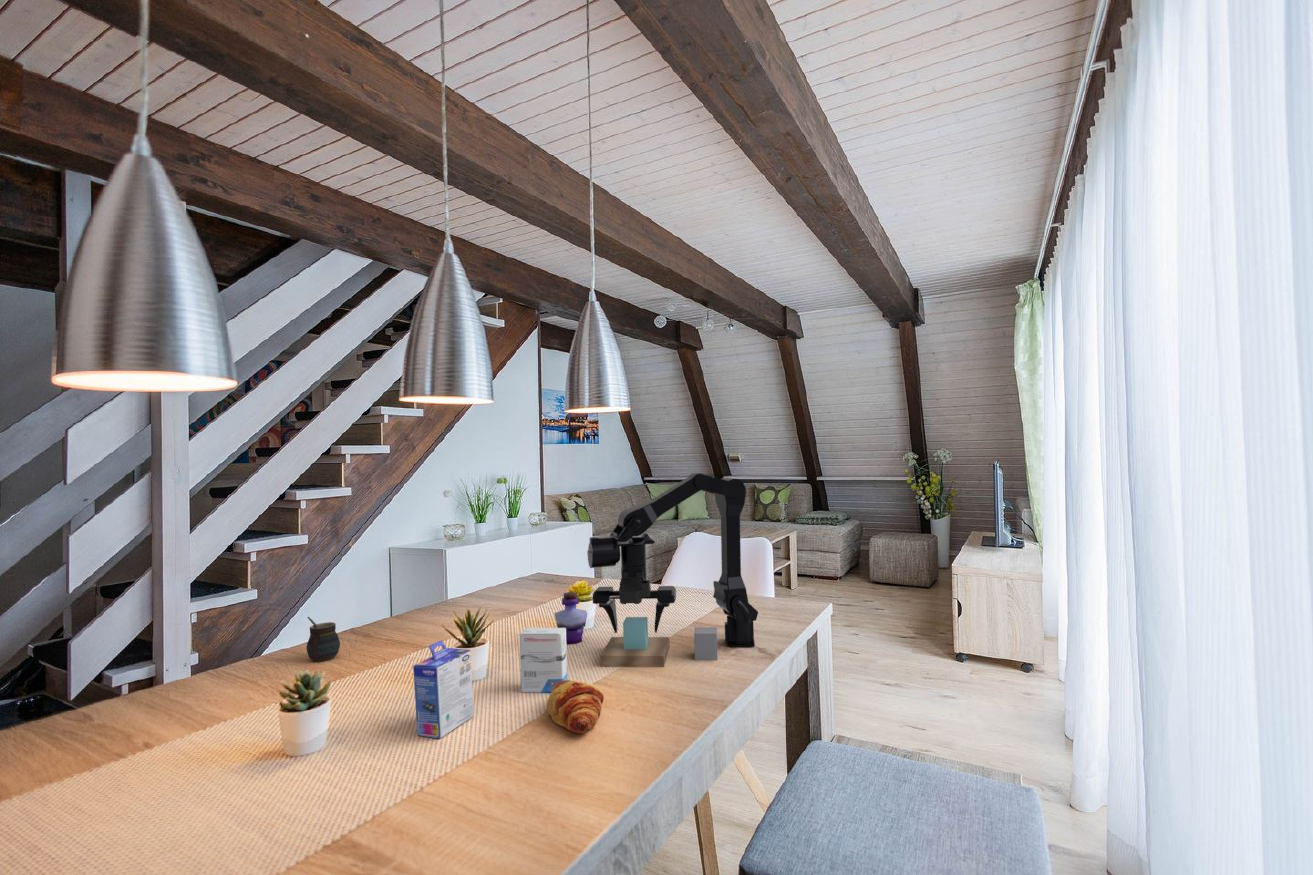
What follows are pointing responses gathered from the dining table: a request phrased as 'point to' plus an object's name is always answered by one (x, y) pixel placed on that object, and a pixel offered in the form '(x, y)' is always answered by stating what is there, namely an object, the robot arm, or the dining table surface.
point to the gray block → (705, 643)
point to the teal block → (635, 632)
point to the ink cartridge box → (443, 691)
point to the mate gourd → (322, 641)
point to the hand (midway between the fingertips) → (635, 632)
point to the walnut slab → (635, 653)
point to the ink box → (542, 658)
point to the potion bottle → (571, 618)
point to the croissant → (575, 705)
